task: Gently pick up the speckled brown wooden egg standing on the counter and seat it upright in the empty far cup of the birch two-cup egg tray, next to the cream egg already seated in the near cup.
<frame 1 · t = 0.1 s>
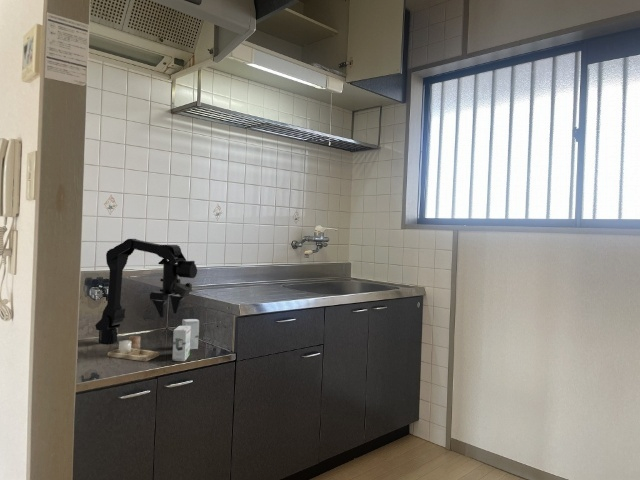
hand: (168, 315, 196), 15 cm above the table, fingers open, 9 cm apart
brown egg: (134, 349, 197), on the table
ink box: (181, 358, 188), on the table
egg tray: (133, 357, 185), on the table
cream egg: (124, 354, 186), point 1 cm above the table, touching egg tray
skincare box: (189, 349, 201), on the table
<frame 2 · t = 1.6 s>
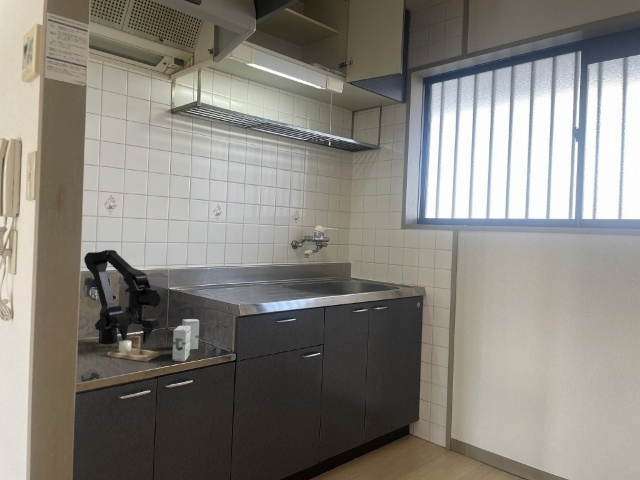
hand: (134, 342, 197), 3 cm above the table, fingers open, 9 cm apart
nothing on the table moved.
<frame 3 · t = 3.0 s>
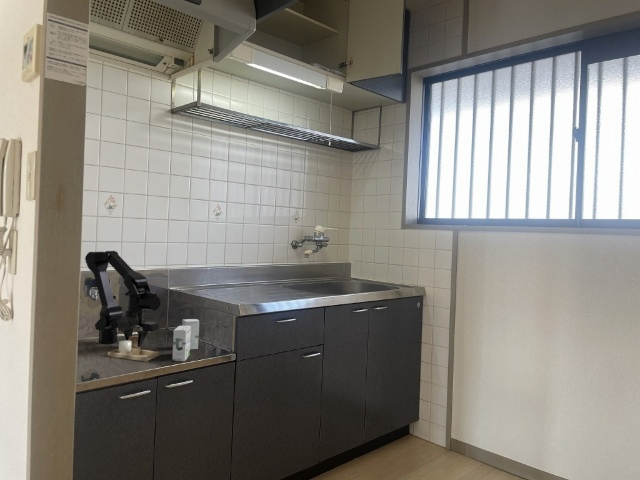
hand: (134, 346, 197), 1 cm above the table, fingers closed on brown egg, 4 cm apart
brown egg: (134, 349, 197), on the table, touching gripper
everything else where it was.
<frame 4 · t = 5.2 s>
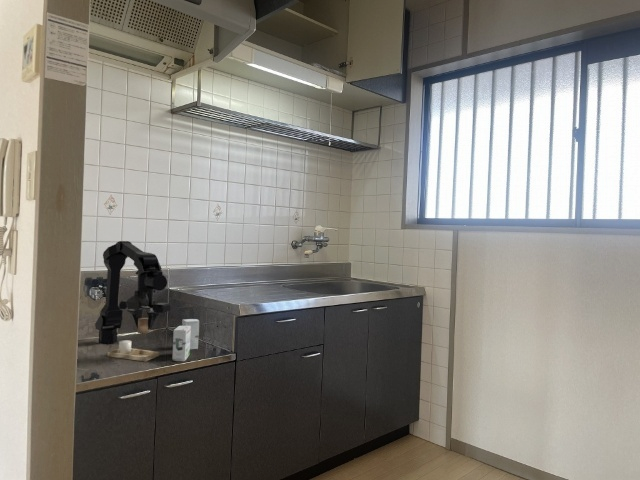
hand: (143, 328, 184), 11 cm above the table, fingers closed on brown egg, 4 cm apart
brown egg: (143, 332, 184), point 10 cm above the table, touching gripper
everything else where it was.
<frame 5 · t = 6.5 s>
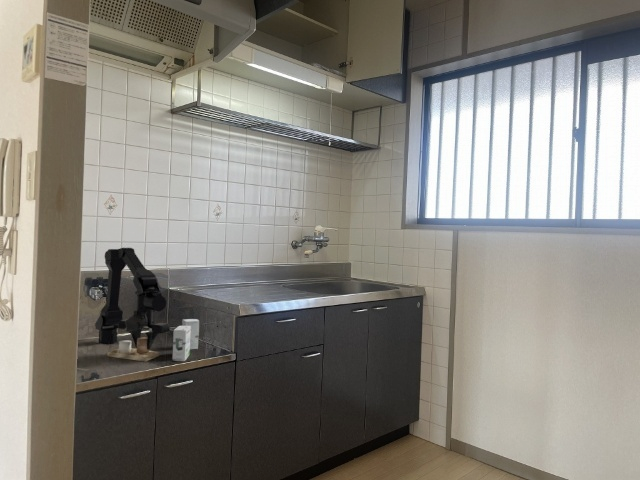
hand: (142, 348, 184), 4 cm above the table, fingers closed on brown egg, 4 cm apart
brown egg: (142, 351, 184), point 3 cm above the table, touching gripper
everything else where it was.
when the fingers open (3 cm above the table, at t = 7.5 s): brown egg stays where it is, resting on egg tray.
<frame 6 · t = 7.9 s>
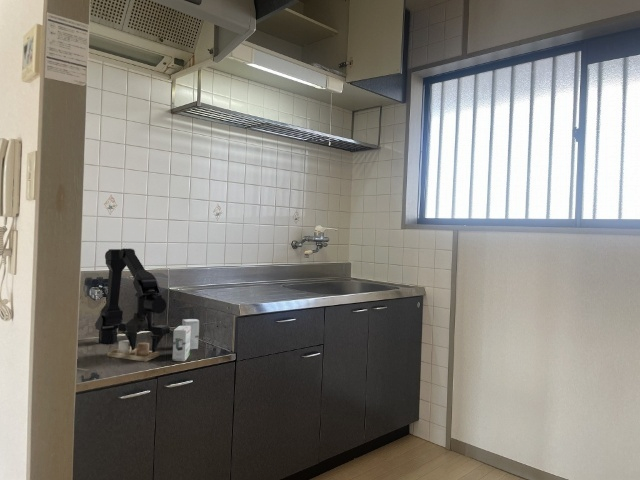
hand: (143, 351, 184), 3 cm above the table, fingers open, 8 cm apart
brown egg: (142, 357, 184), point 1 cm above the table, touching egg tray
cream egg: (124, 354, 186), point 1 cm above the table, touching egg tray, gripper
everything else where it was.
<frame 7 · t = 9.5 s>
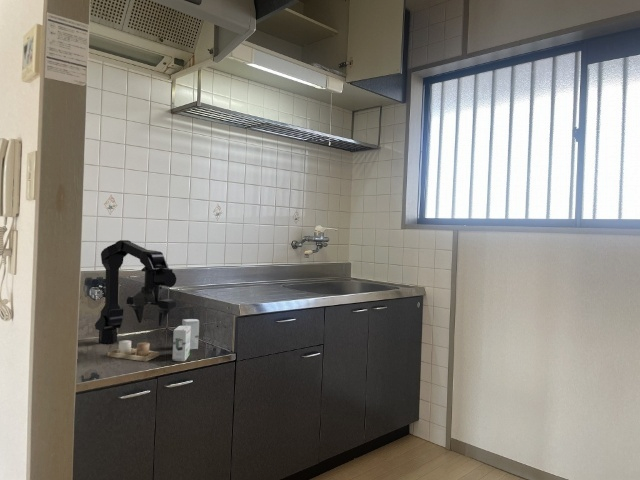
hand: (149, 324, 189), 12 cm above the table, fingers open, 9 cm apart
cream egg: (124, 354, 186), point 1 cm above the table, touching egg tray
everything else where it was.
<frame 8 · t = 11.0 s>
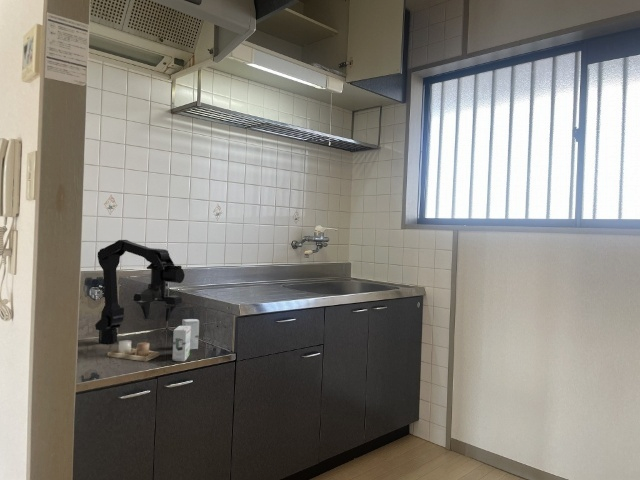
hand: (156, 320, 195), 13 cm above the table, fingers open, 9 cm apart
nothing on the table moved.
at the end: brown egg 0.0 cm from the target spot on the egg tray, point 0.6 cm above the egg tray's base; brown egg tilted 1°; the gripper is holding nothing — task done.
